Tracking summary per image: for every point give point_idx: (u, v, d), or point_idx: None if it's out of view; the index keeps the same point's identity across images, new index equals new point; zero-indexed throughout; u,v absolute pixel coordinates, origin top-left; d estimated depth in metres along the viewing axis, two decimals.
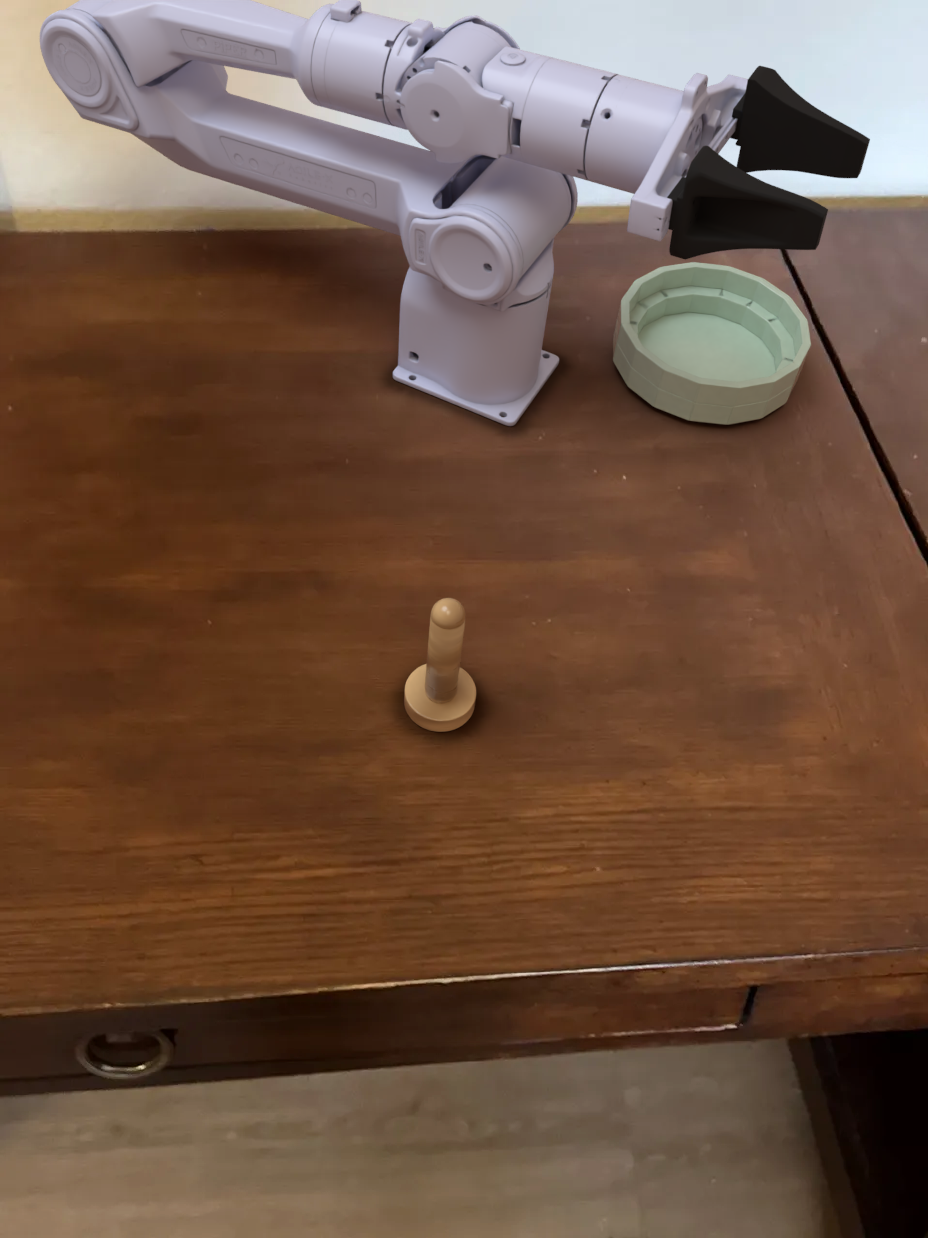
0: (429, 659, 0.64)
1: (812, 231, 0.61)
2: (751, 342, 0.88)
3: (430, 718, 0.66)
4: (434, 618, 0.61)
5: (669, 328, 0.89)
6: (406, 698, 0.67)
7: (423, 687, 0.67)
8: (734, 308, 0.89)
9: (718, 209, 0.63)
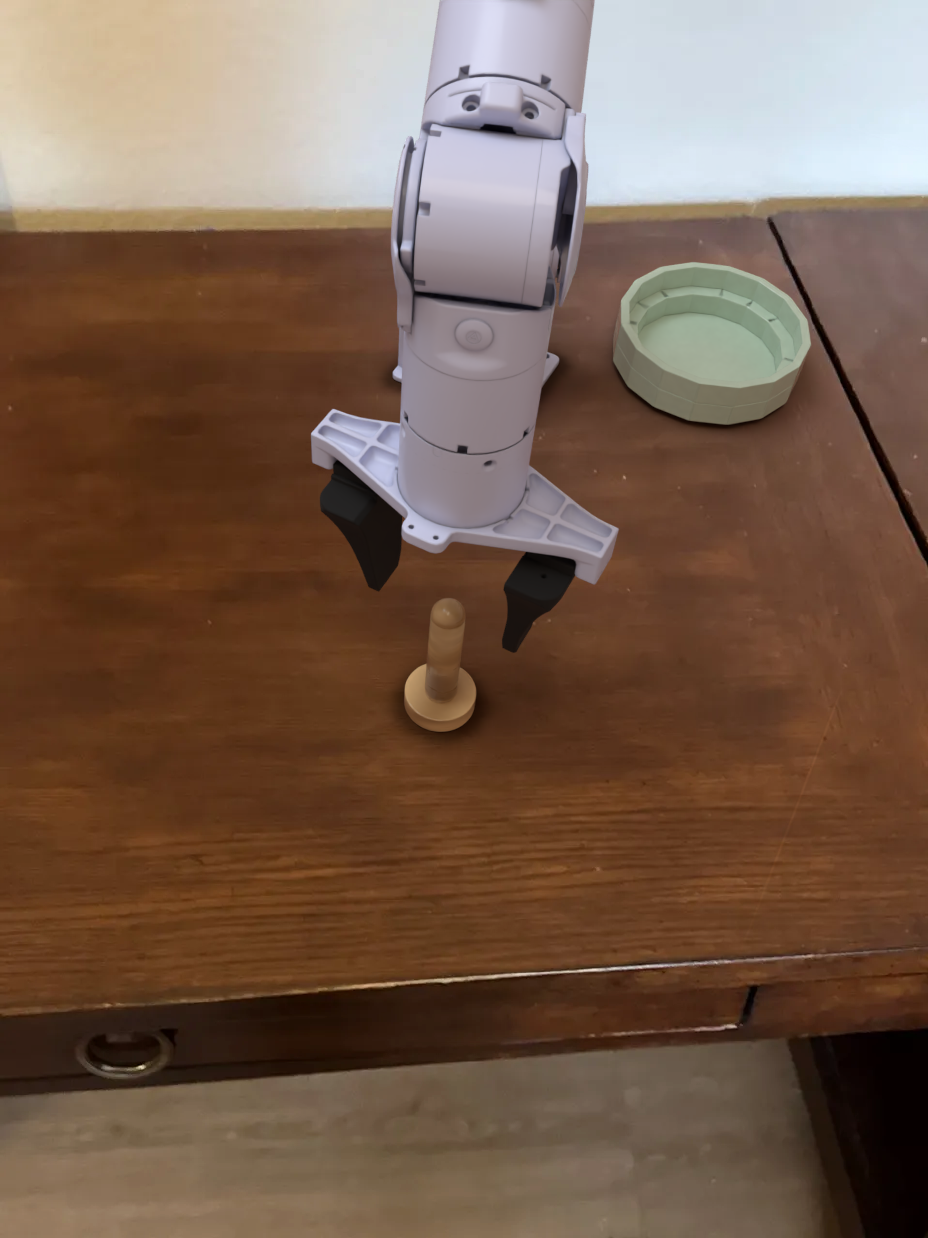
0: (429, 659, 0.64)
1: None
2: (751, 342, 0.88)
3: (430, 718, 0.66)
4: (434, 618, 0.61)
5: (669, 328, 0.89)
6: (406, 698, 0.67)
7: (423, 687, 0.67)
8: (734, 308, 0.89)
9: None
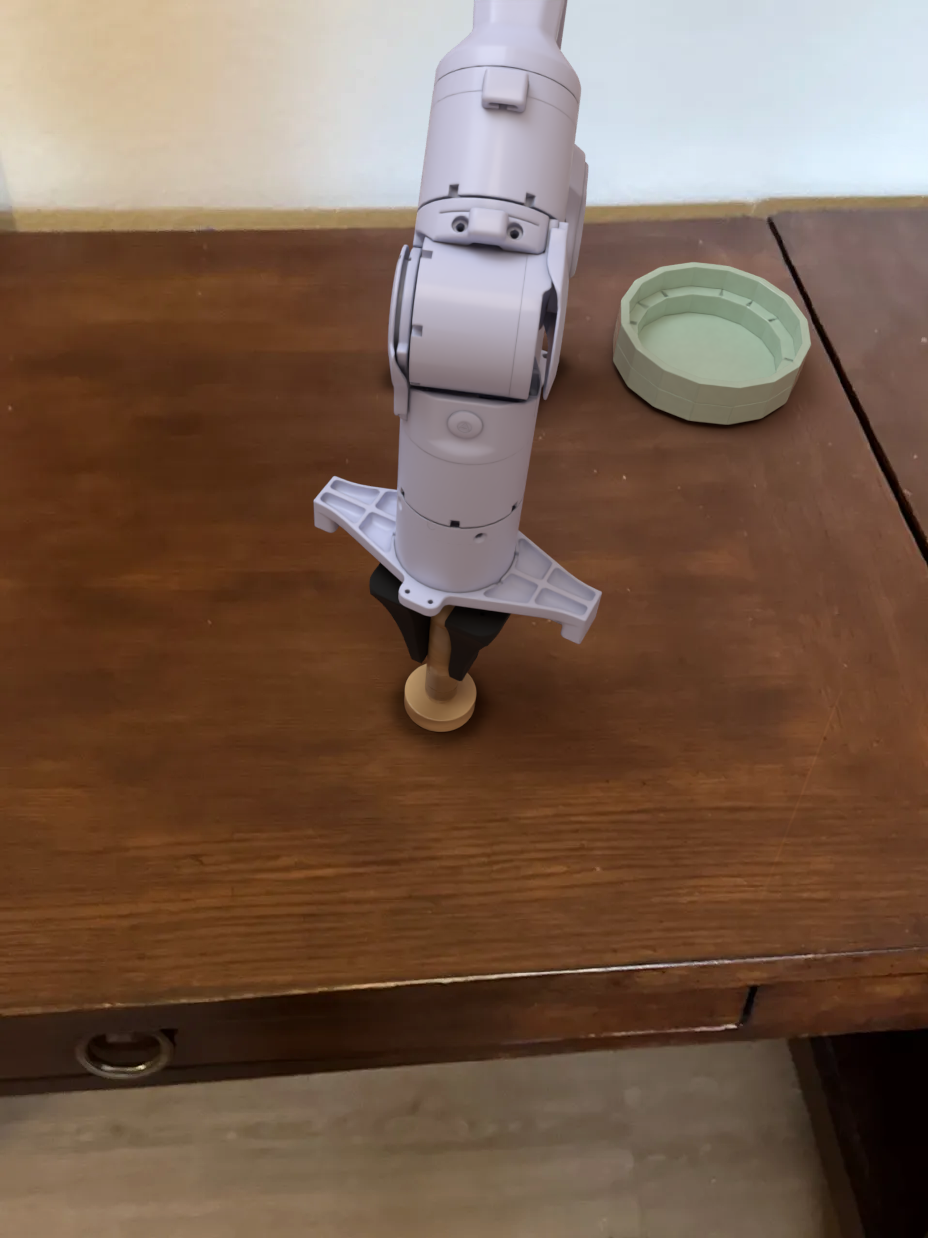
0: (429, 659, 0.64)
1: None
2: (751, 342, 0.88)
3: (430, 718, 0.66)
4: (434, 618, 0.61)
5: (669, 328, 0.89)
6: (406, 698, 0.67)
7: (423, 687, 0.67)
8: (734, 308, 0.89)
9: None
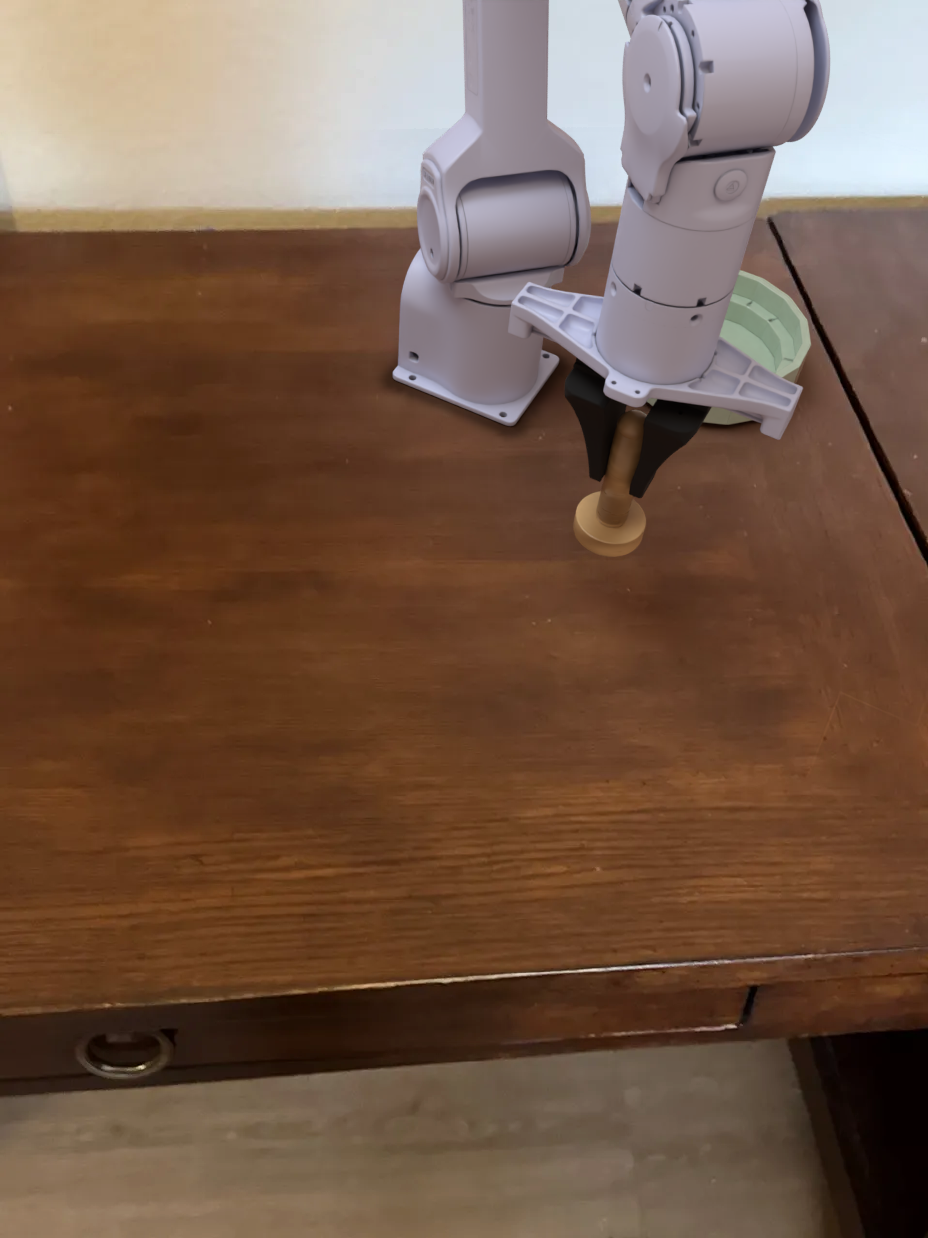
0: (608, 477, 0.65)
1: None
2: (751, 342, 0.88)
3: (603, 541, 0.67)
4: (621, 428, 0.62)
5: None
6: (578, 523, 0.68)
7: (594, 513, 0.68)
8: (734, 308, 0.89)
9: None
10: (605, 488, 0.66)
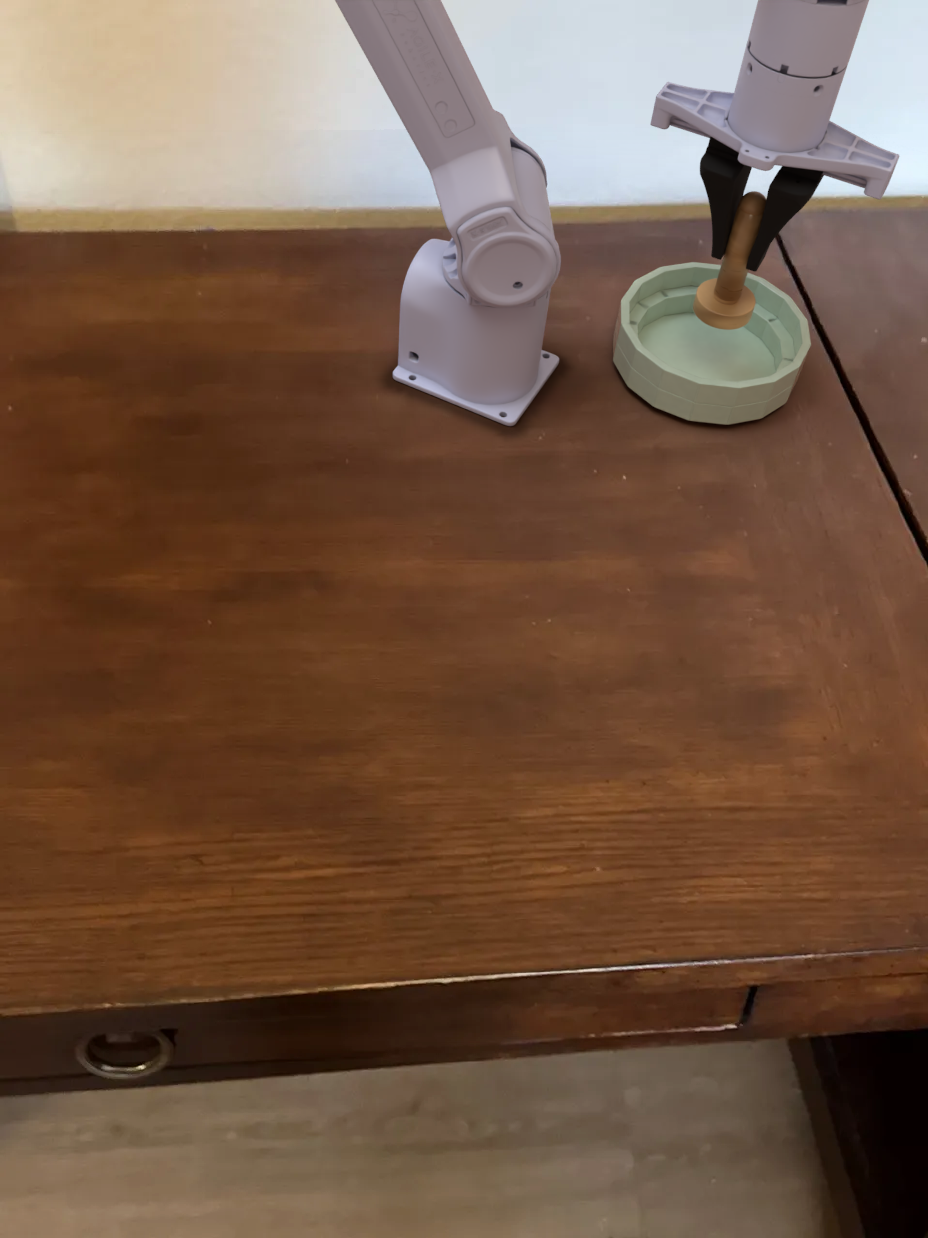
0: (728, 255, 0.78)
1: None
2: (751, 342, 0.88)
3: (721, 314, 0.80)
4: (743, 206, 0.75)
5: (669, 328, 0.89)
6: (699, 301, 0.81)
7: (711, 294, 0.81)
8: None
9: None
10: (724, 266, 0.79)
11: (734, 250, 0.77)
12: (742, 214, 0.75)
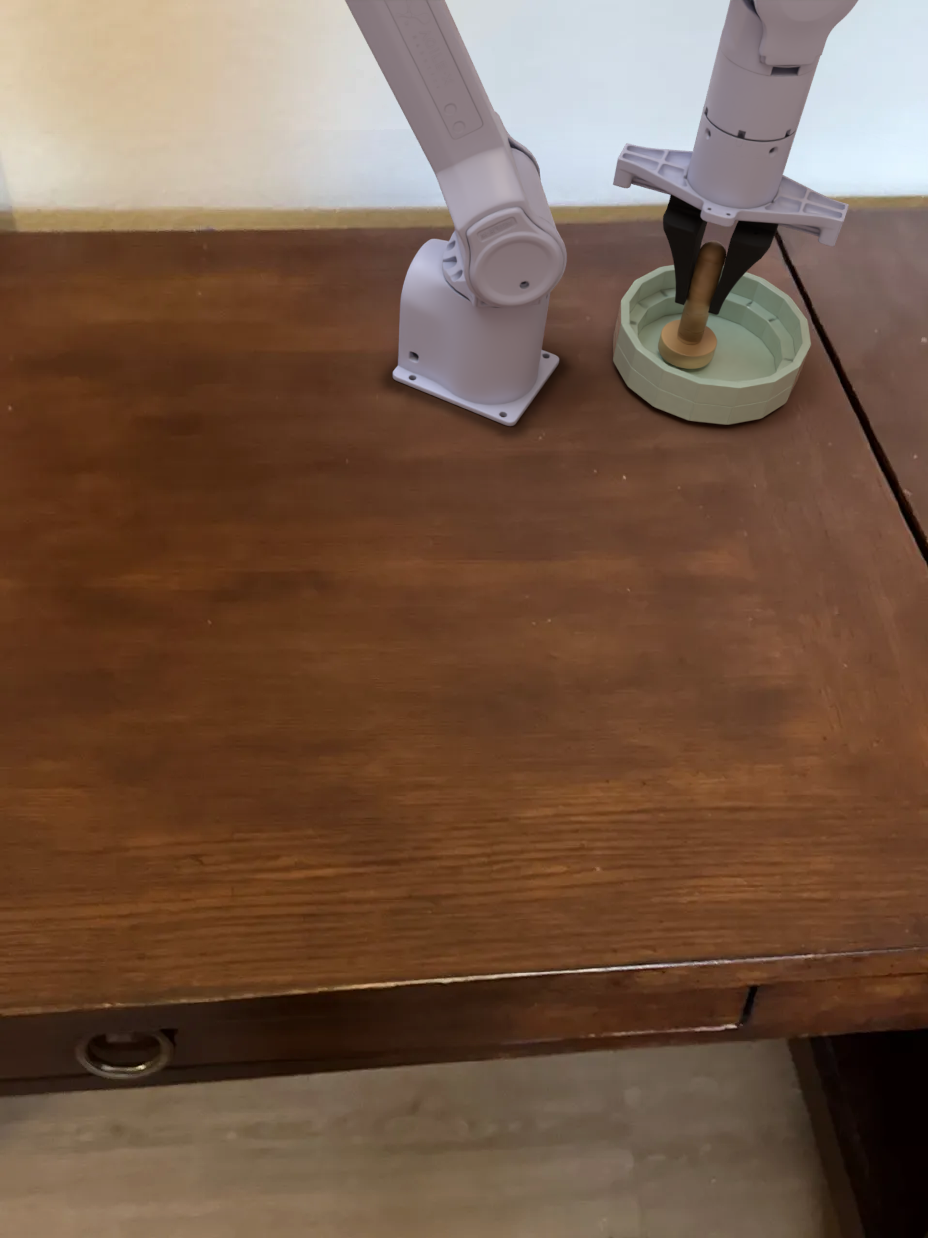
0: (691, 300, 0.82)
1: None
2: (751, 342, 0.88)
3: (687, 355, 0.84)
4: (704, 255, 0.80)
5: None
6: (664, 343, 0.85)
7: (675, 335, 0.85)
8: (734, 308, 0.89)
9: None
10: (687, 310, 0.83)
11: (696, 296, 0.82)
12: (703, 263, 0.80)
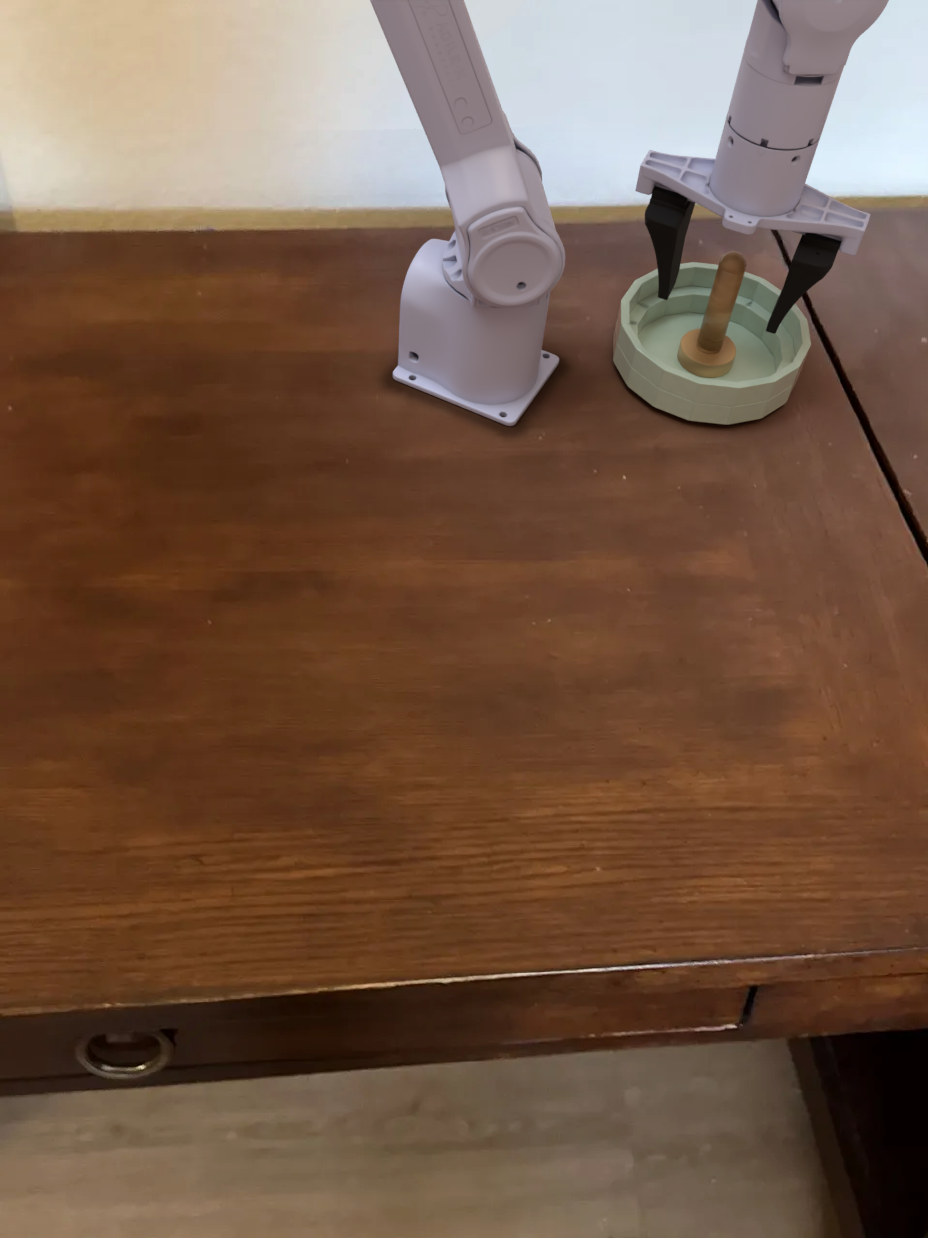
0: (710, 309, 0.83)
1: None
2: (751, 342, 0.88)
3: (706, 364, 0.85)
4: (724, 265, 0.80)
5: (669, 328, 0.89)
6: (683, 352, 0.86)
7: (695, 344, 0.86)
8: (734, 308, 0.89)
9: None
10: (707, 319, 0.84)
11: (716, 305, 0.82)
12: (723, 273, 0.80)
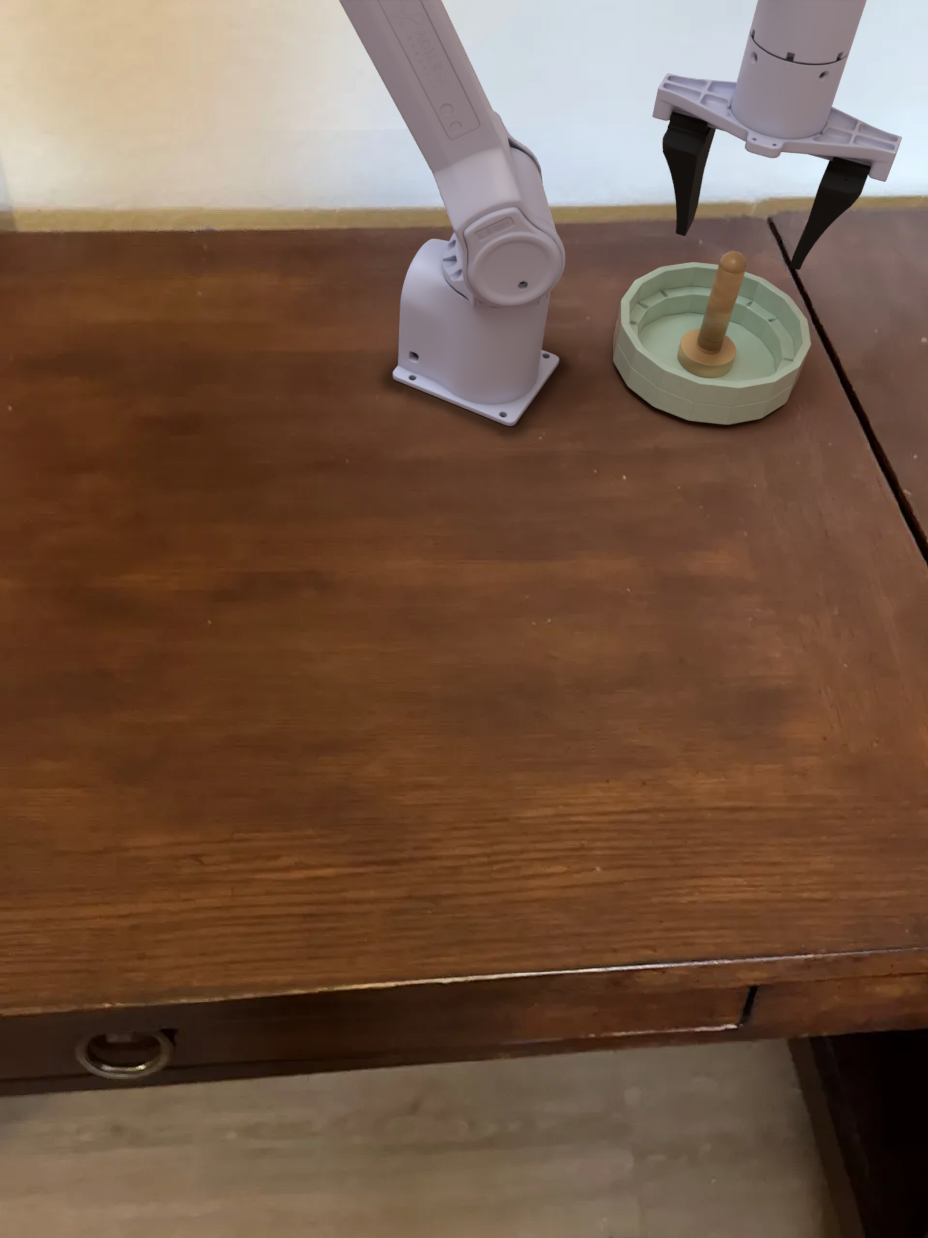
0: (710, 309, 0.83)
1: None
2: (751, 342, 0.88)
3: (706, 364, 0.85)
4: (724, 265, 0.80)
5: (669, 328, 0.89)
6: (684, 352, 0.86)
7: (695, 344, 0.86)
8: (734, 308, 0.89)
9: None
10: (707, 319, 0.84)
11: (716, 305, 0.82)
12: (723, 273, 0.80)
